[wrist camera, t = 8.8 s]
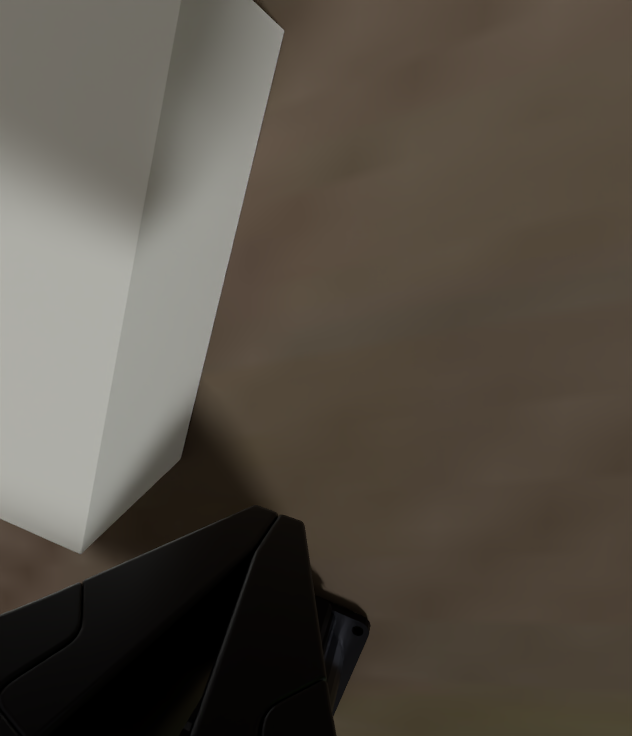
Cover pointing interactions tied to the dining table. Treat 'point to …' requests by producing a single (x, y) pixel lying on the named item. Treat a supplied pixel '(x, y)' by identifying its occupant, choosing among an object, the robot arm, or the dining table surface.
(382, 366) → the dining table surface
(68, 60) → the pale slab
